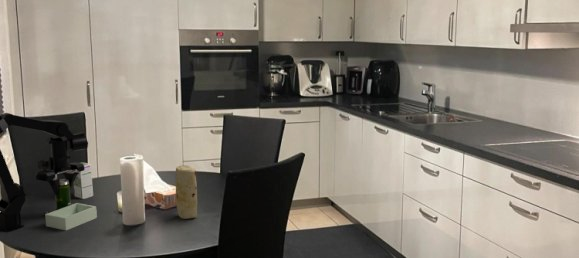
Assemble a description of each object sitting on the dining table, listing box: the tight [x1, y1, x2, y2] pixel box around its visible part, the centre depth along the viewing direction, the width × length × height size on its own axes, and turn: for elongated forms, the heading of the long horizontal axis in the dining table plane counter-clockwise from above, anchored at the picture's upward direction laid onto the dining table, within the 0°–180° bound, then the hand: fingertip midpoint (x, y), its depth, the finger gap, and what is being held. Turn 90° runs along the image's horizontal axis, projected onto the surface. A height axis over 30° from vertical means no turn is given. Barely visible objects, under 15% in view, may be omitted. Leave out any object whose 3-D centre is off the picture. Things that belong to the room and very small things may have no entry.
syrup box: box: [72, 161, 94, 200], centre depth 237 cm, size 6×6×14 cm
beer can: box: [54, 178, 72, 211], centre depth 214 cm, size 5×5×12 cm
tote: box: [44, 202, 98, 231], centre depth 207 cm, size 15×10×4 cm, turn 155°
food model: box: [175, 164, 198, 220], centre depth 212 cm, size 10×7×20 cm
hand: (62, 192), depth 213 cm, fingers closed on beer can, 5 cm apart
